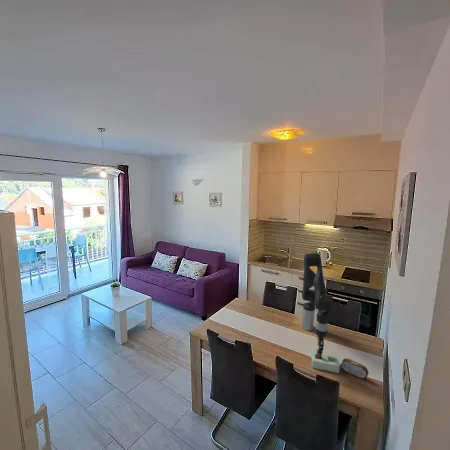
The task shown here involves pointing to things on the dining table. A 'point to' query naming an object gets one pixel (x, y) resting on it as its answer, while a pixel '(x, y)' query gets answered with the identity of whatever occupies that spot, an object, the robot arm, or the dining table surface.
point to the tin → (355, 368)
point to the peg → (318, 355)
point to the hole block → (326, 362)
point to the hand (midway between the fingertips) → (319, 349)
